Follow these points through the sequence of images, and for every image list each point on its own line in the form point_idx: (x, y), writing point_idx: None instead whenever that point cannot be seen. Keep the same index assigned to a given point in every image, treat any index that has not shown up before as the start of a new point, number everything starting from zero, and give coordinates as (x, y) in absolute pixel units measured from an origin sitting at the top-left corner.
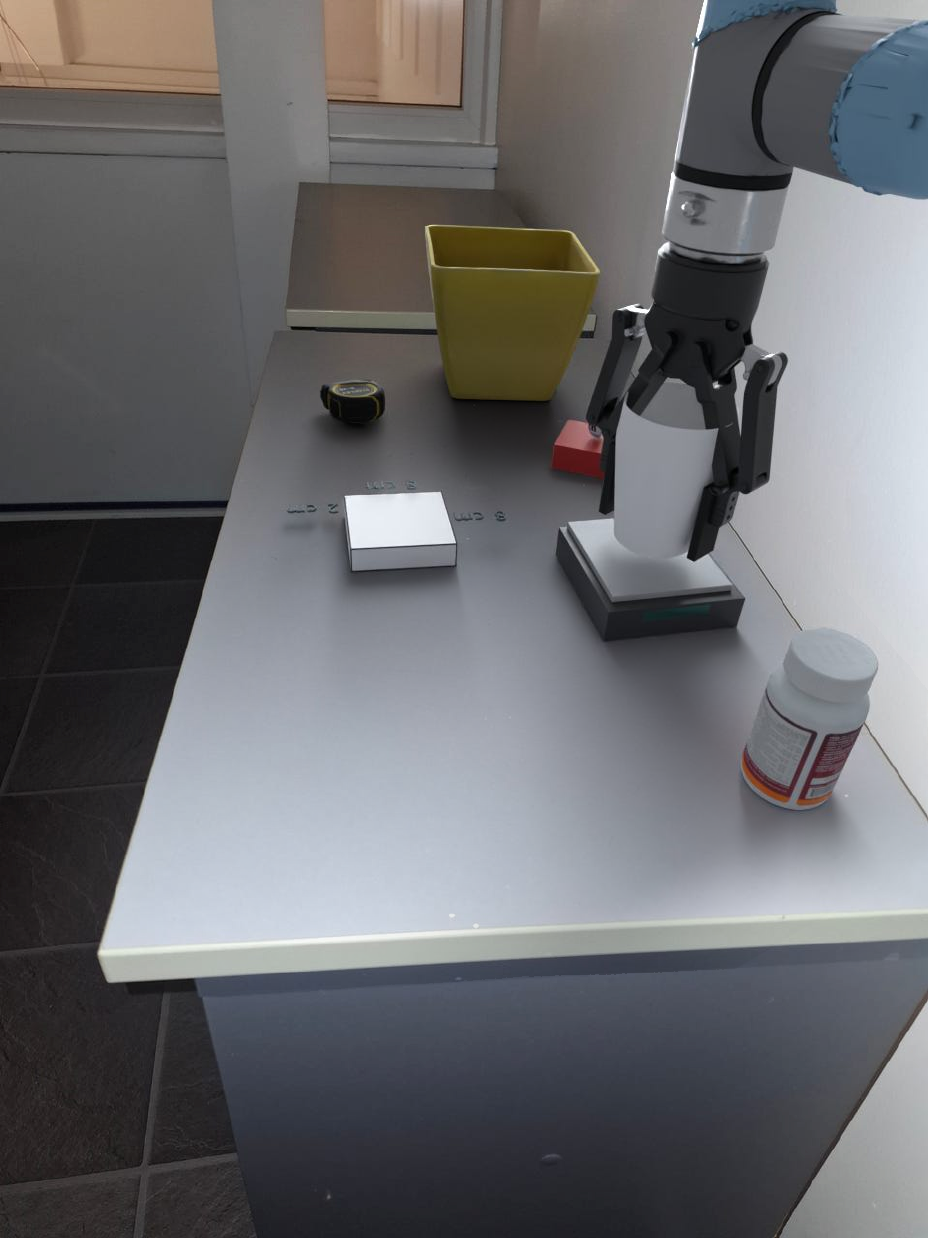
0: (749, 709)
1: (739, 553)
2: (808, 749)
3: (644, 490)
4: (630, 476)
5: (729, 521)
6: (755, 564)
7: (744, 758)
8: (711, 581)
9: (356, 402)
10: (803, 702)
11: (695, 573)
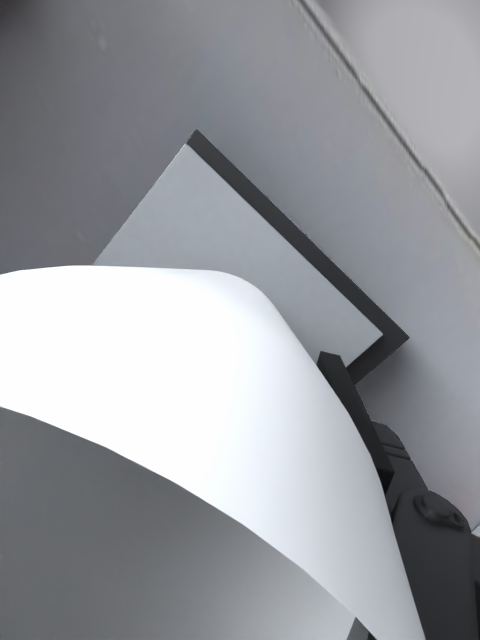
0: (449, 471)
1: (328, 81)
2: None
3: (166, 572)
4: (105, 587)
5: (389, 430)
6: (369, 101)
7: None
8: (345, 349)
9: None
10: None
11: (310, 341)
